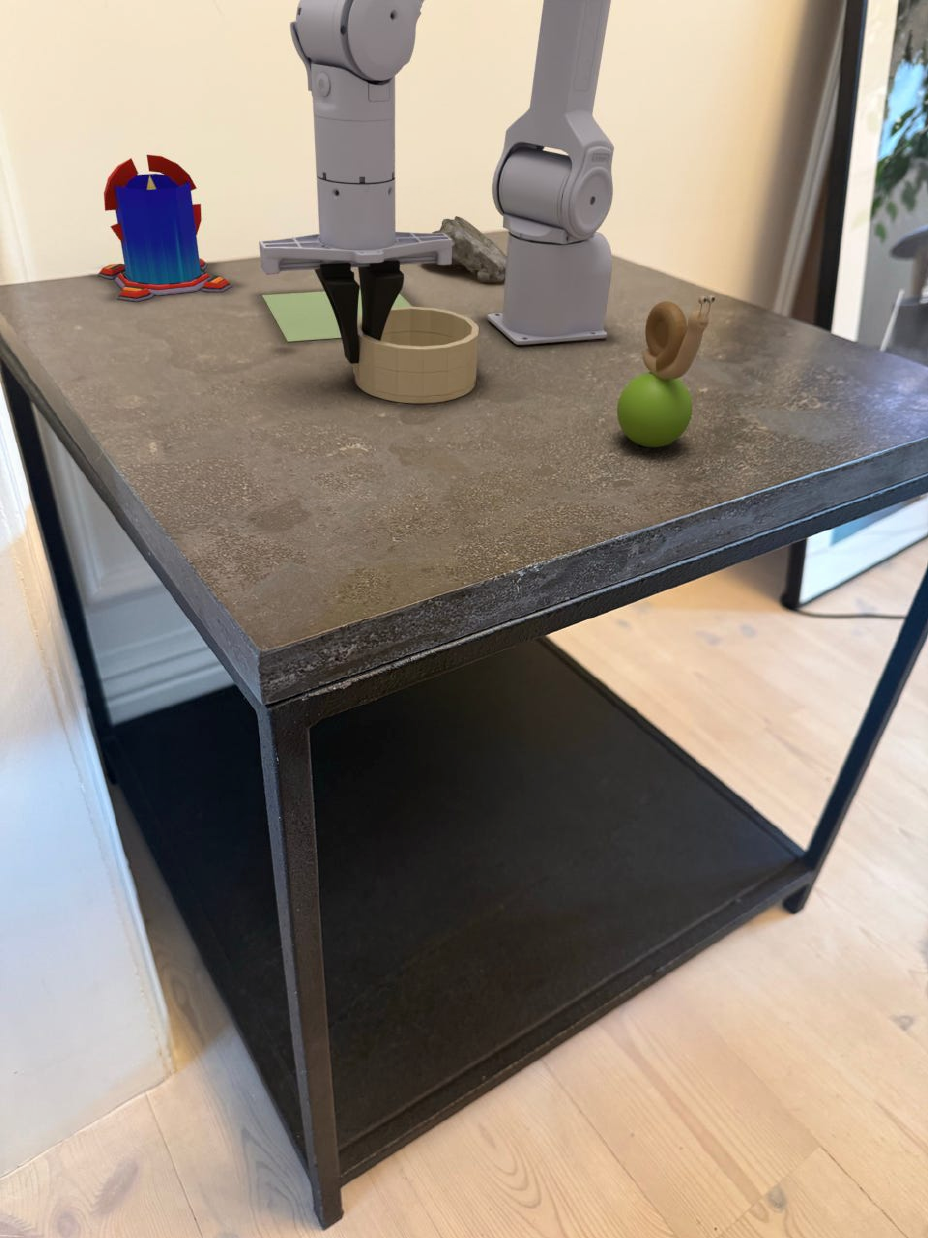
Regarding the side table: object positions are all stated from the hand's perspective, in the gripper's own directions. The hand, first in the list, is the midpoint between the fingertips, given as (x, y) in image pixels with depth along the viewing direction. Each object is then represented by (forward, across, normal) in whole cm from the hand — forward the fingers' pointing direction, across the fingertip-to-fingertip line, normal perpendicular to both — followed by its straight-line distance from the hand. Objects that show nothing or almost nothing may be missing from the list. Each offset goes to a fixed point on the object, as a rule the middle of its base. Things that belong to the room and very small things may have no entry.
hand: (360, 358), depth 74 cm
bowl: (+2, +5, 0) cm, 5 cm away
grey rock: (+2, +20, +30) cm, 36 cm away
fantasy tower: (+2, -13, +32) cm, 35 cm away
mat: (+2, +3, +18) cm, 19 cm away
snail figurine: (+2, +18, -17) cm, 25 cm away
